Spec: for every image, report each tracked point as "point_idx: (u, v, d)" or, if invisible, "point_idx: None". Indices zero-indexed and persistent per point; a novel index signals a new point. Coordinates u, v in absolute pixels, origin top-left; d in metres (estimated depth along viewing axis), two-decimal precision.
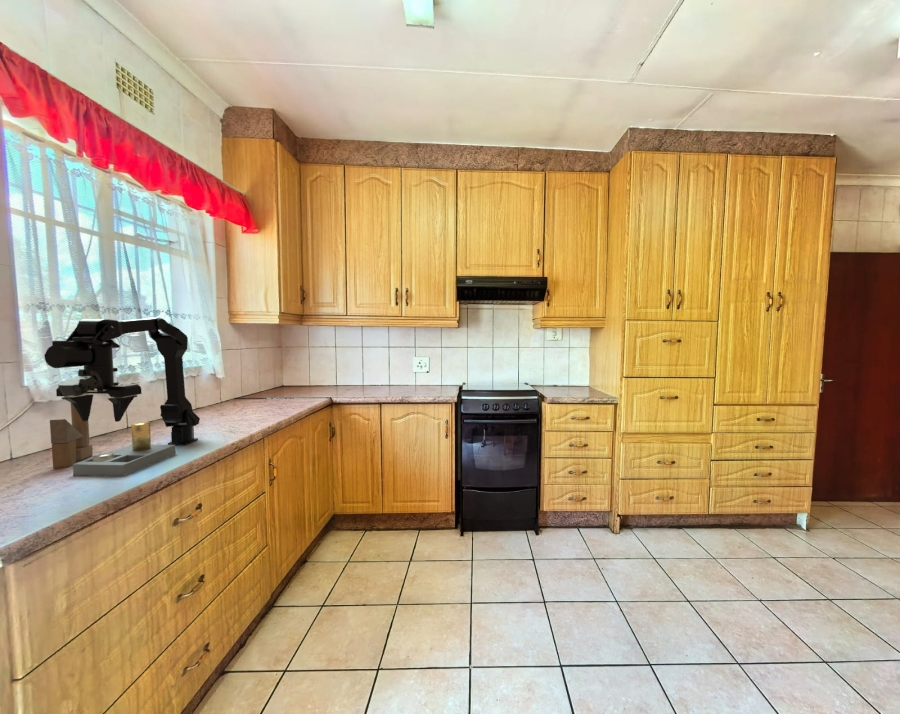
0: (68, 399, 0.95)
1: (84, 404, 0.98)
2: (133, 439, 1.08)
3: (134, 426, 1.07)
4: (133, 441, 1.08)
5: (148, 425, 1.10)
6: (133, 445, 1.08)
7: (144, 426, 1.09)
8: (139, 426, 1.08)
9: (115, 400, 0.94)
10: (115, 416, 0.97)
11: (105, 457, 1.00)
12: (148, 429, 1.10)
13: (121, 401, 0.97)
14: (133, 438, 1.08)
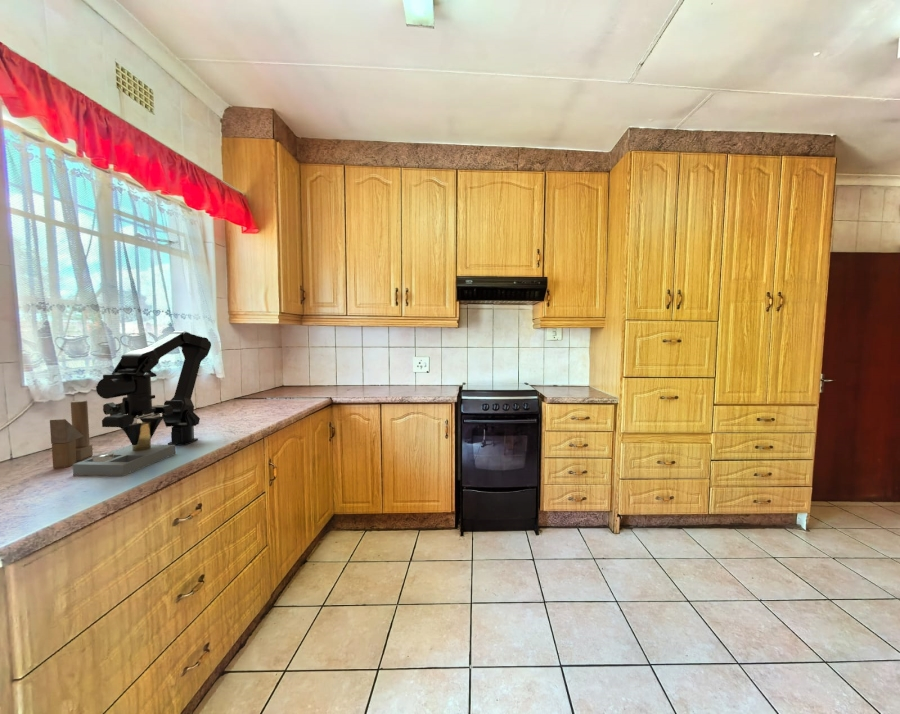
0: None
1: None
2: None
3: None
4: None
5: (148, 425, 1.10)
6: (133, 445, 1.08)
7: (144, 426, 1.09)
8: None
9: None
10: None
11: (105, 457, 1.00)
12: (148, 429, 1.10)
13: (130, 428, 1.06)
14: None
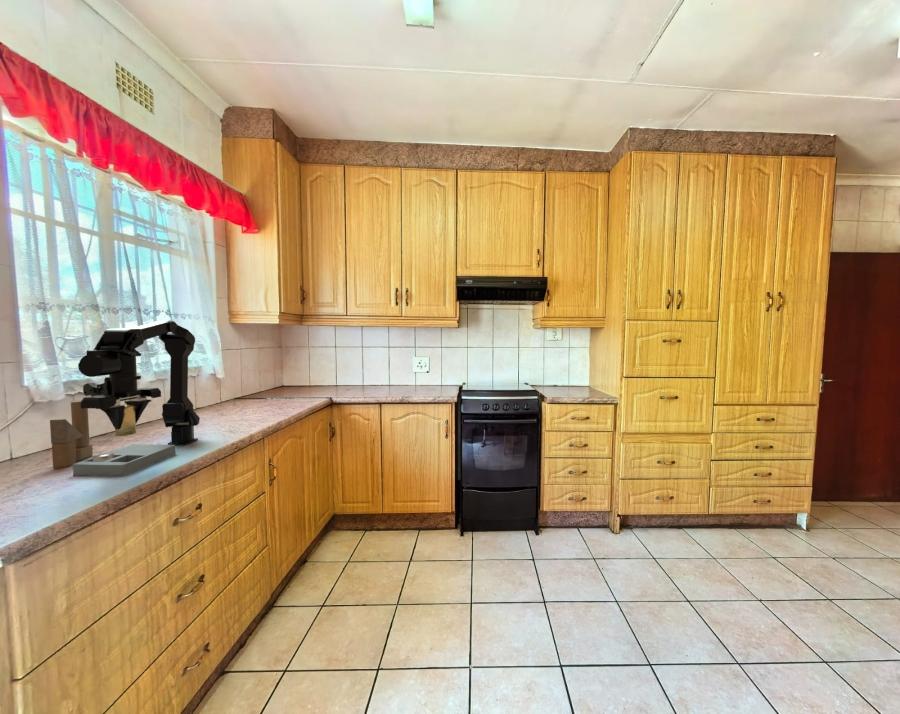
0: None
1: None
2: None
3: None
4: None
5: (133, 408, 1.01)
6: None
7: (128, 409, 1.00)
8: None
9: None
10: None
11: (105, 457, 1.00)
12: (133, 412, 1.01)
13: (113, 410, 0.97)
14: None
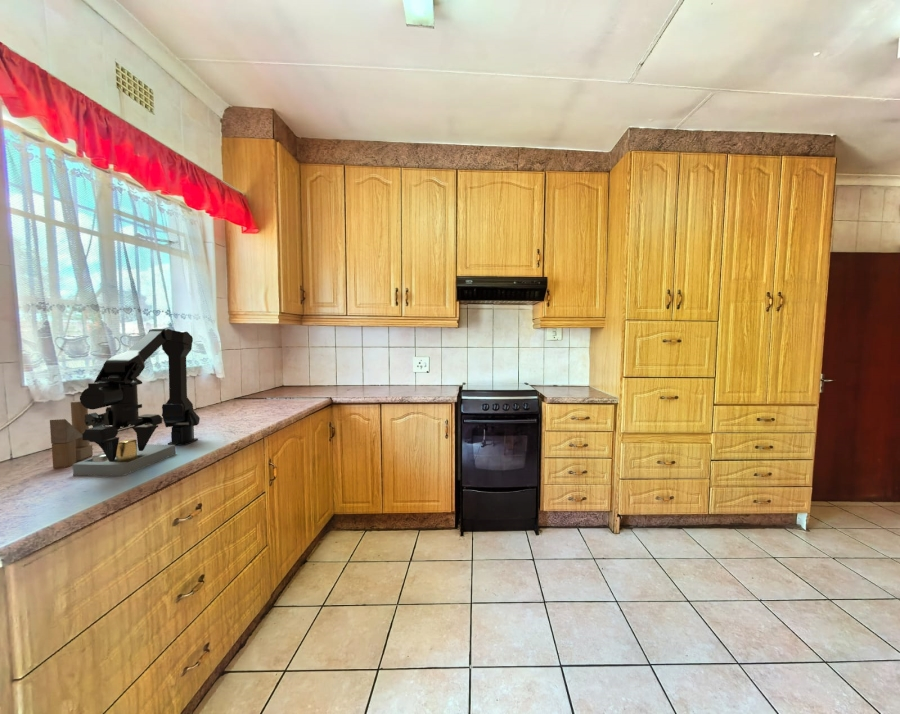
0: None
1: (141, 435, 1.06)
2: (118, 459, 0.99)
3: (119, 445, 0.99)
4: (118, 461, 0.99)
5: (134, 443, 1.01)
6: None
7: (130, 444, 1.00)
8: (124, 445, 0.99)
9: None
10: None
11: (105, 457, 1.00)
12: (134, 447, 1.01)
13: (107, 442, 0.95)
14: (118, 458, 0.99)
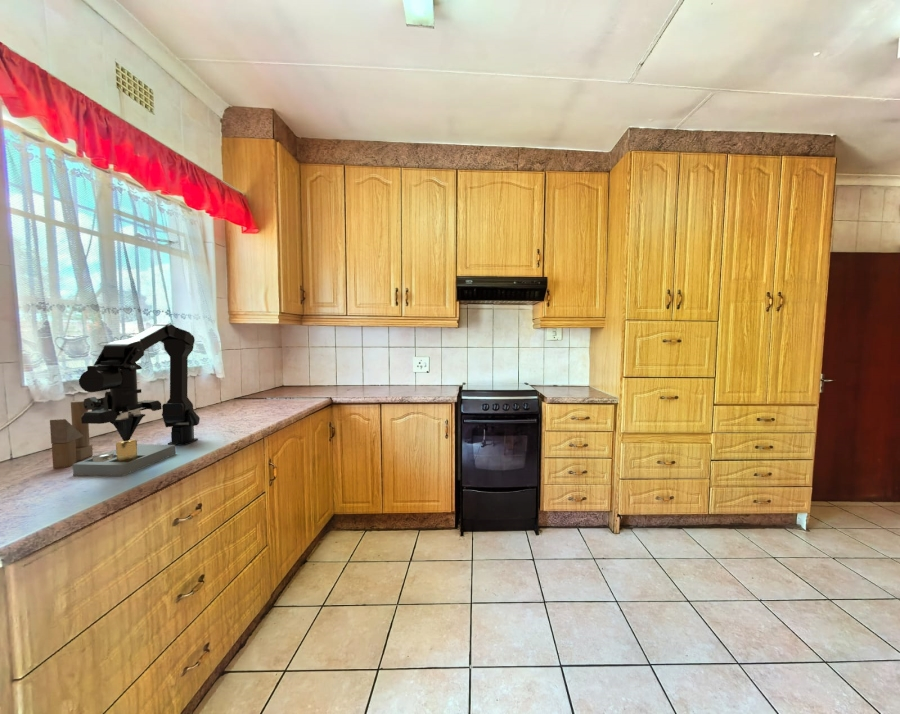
0: None
1: None
2: (118, 459, 0.99)
3: (119, 444, 0.99)
4: (118, 461, 0.99)
5: (135, 443, 1.02)
6: None
7: (130, 444, 1.00)
8: (125, 444, 0.99)
9: None
10: None
11: (105, 457, 1.00)
12: (134, 447, 1.02)
13: (121, 422, 0.99)
14: (118, 457, 0.99)
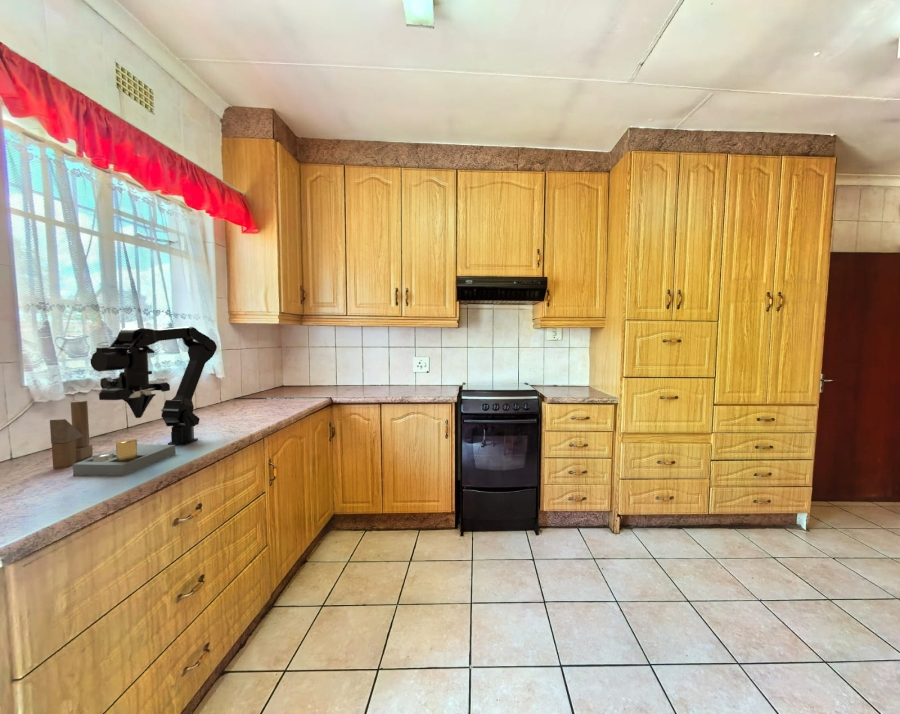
0: None
1: None
2: (118, 458, 0.99)
3: (119, 444, 0.99)
4: (118, 461, 0.99)
5: (135, 443, 1.02)
6: None
7: (130, 444, 1.00)
8: (125, 444, 0.99)
9: None
10: None
11: (105, 457, 1.00)
12: (134, 447, 1.02)
13: (134, 401, 1.09)
14: (118, 457, 0.99)
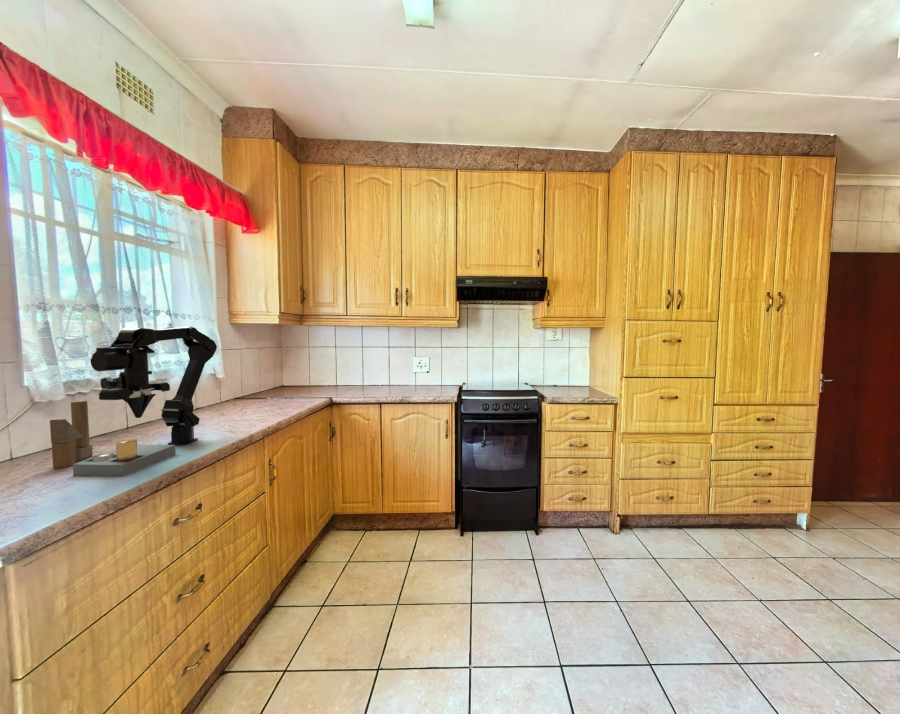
0: None
1: None
2: (118, 458, 0.99)
3: (119, 444, 0.99)
4: (118, 461, 0.99)
5: (135, 443, 1.02)
6: None
7: (130, 444, 1.00)
8: (125, 444, 0.99)
9: None
10: None
11: (105, 457, 1.00)
12: (135, 447, 1.02)
13: (134, 401, 1.09)
14: (118, 457, 0.99)
